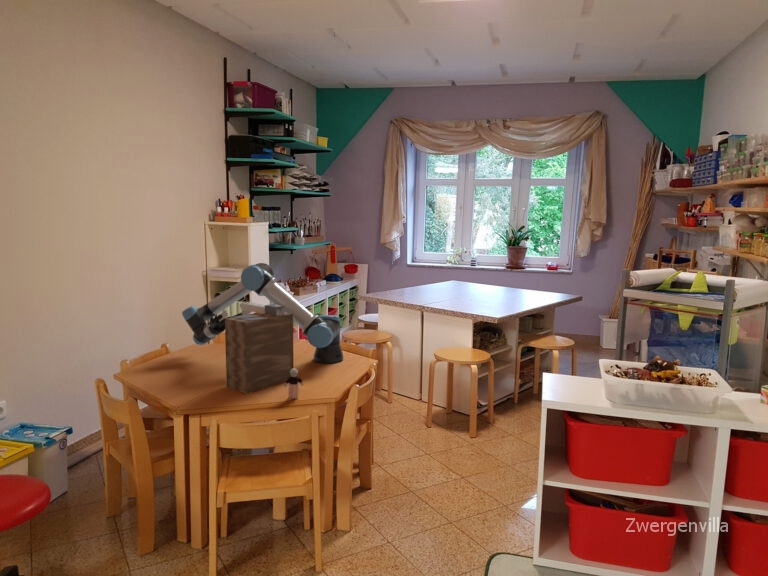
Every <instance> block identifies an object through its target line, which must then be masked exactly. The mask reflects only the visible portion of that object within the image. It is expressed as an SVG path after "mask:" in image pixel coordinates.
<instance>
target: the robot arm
mask: <svg viewBox="0 0 768 576" xmlns="http://www.w3.org/2000/svg"><path fill="white" fill-rule="evenodd" d="M251 292H254V293H255V294H256V295H257V296H259V297H264V298H266V299H267V300H269V301H270V303H271V304H277V305H283V306H284V312H285V313H291V314H293V323H295V324H297V326H298V327H300V328H301V332H302V333H301V334H303V335H304V336H305V337H306V338H307V342H308V343H309V344H310V345H311V346H313V347H314V348H315V351H314V353H313V360H314V362H317V363H320V364H335V362H336V363H339V361H340V362H342V361H343V360H344V352H343V350H342V347H341V318H340V316H339V315H335V314H334V315H333V314H313V313H312V312H311V311H309V309H307V307H305V306H304V305H303V304H302V303H301V302H299V301H298V299H296V298H295V297H294V296H292V295H291V294H290V293H288V291H286V290H285V289H284V288H283V287H282V286H280V284H278V283H277V278H276V277H275V276H274V270H273V268H272V267H271V266H270V265H269V264H267V263H266V262H264V263H263V262H260V263H256V264H250V265H248V266H247V267H245V268H244V269H243V270H242V272H241V274H240V281H238V282H237V283H235V284H234V285H232V286H231V287H229V288H228V289H226V290H224V291H223V292H222V293H221V294H219V295H217V296H216V297H214V298H213V299H211V300H210V301H208V302H207V303H205V304H203V306H200V307H198V308H197V307H196V306H195V305H191V306H189V307H187V308H185V309H184V310H183V311H182V312H181V315H182V317H183V318H184V320H185V322H186V323H187V325H188V326H189V328H190V330H192V333H193V335H192V339H193V342H194V343H195V344H196V345H198V346H204V345H206V344H207V343H209V342H210V341H212V340H213V339H216V337H218V335H220V334H221V333H223V332H225V318H230V317H234V316H239V315H247V314H252V312H251V311H246V310H241V311H240V313H237V314H234V315H232V316H229V315H228V312H227V310H226V309H227V308H229V307H230V306H232V305H233V304H235V303H236V302H238V301H239V300H241V299H243V298H244V297H245V296H247V295H248V294H250V293H251ZM206 321H209V322H208V323H207V322H206Z"/></svg>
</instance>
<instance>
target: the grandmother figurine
mask: <svg viewBox="0 0 768 576" xmlns="http://www.w3.org/2000/svg"><path fill="white" fill-rule="evenodd" d="M290 374H291V376H292V377H289V378H288V379H287V381H286V382H284V387H285V388H286V387H287V386H288V397H287V398H286V399H287V401H288V400H289V401H291V400H299V384H300V385H301V386H304V382H303V379H302V378H300V377H299V376H298V374H299V371H298V369H296V368H295V367H294V368H293V369H291V370H290ZM288 384H289V385H288Z"/></svg>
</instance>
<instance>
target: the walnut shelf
mask: <svg viewBox="0 0 768 576" xmlns="http://www.w3.org/2000/svg"><path fill="white" fill-rule="evenodd" d="M233 316H234V315H233ZM229 317H230V318H227V317H226V318H225V330H224V335H225V338H224V339H225V372H226V373H225V374H226V375H225V376H226V377H225V378H226V388H228V387H229V388H228V389H231V388H232V389H233V390H235V391H238V390H239V391H238V392H241V391H242V392H241V393H244V392H245V394H247V395H248V393H249V394H251V392H252V393H254V392H255V393H256V392H257V391H260V390H264V389H266V388H270V386H271V387H273V385H274V386H276V385H279V384H282V383H283V384H284V383H285V382H286V381H287V379H288V378H289V377H292V376H291V374H290V370H291V369H293V368H295V367H294V366H295V365H294V359H295V358H294V321H293V314H291V313H285V312H284V315H280V316H271V315H266V314H262V313H257V312H252V313H249V314H247V315H239V316H234V317H232V316H229ZM263 388H264V389H263Z"/></svg>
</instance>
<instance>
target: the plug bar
mask: <svg viewBox="0 0 768 576" xmlns="http://www.w3.org/2000/svg"><path fill="white" fill-rule="evenodd" d="M239 307H240V310H241V311H243V310H246V311H251V313H256V312H257V313H262V314H266V315H271V316H280V315H284V306H283V305H277V304H273V303H271V304H261V303H255V302H250V301H245V302H241V303H240V304H239Z"/></svg>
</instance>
